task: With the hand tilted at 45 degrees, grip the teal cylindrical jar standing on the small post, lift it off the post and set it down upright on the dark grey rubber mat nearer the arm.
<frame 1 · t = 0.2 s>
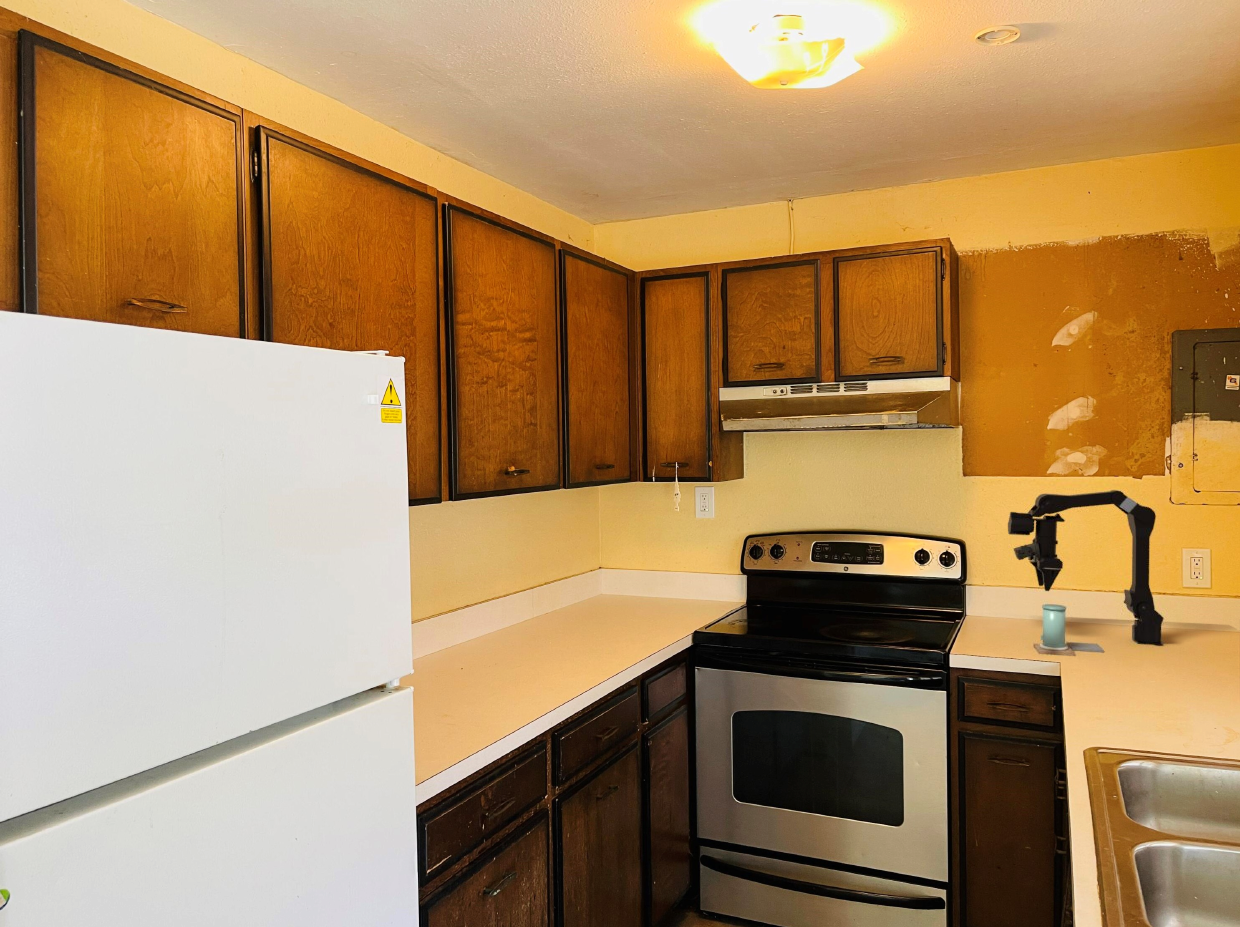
hand: (1043, 588, 266), 15 cm above the counter, tool pointing down, fingers open, 9 cm apart
teal cylindrical jar: (1053, 645, 248), point 1 cm above the counter, touching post
mat: (1084, 648, 252), on the counter
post: (1053, 650, 248), on the counter
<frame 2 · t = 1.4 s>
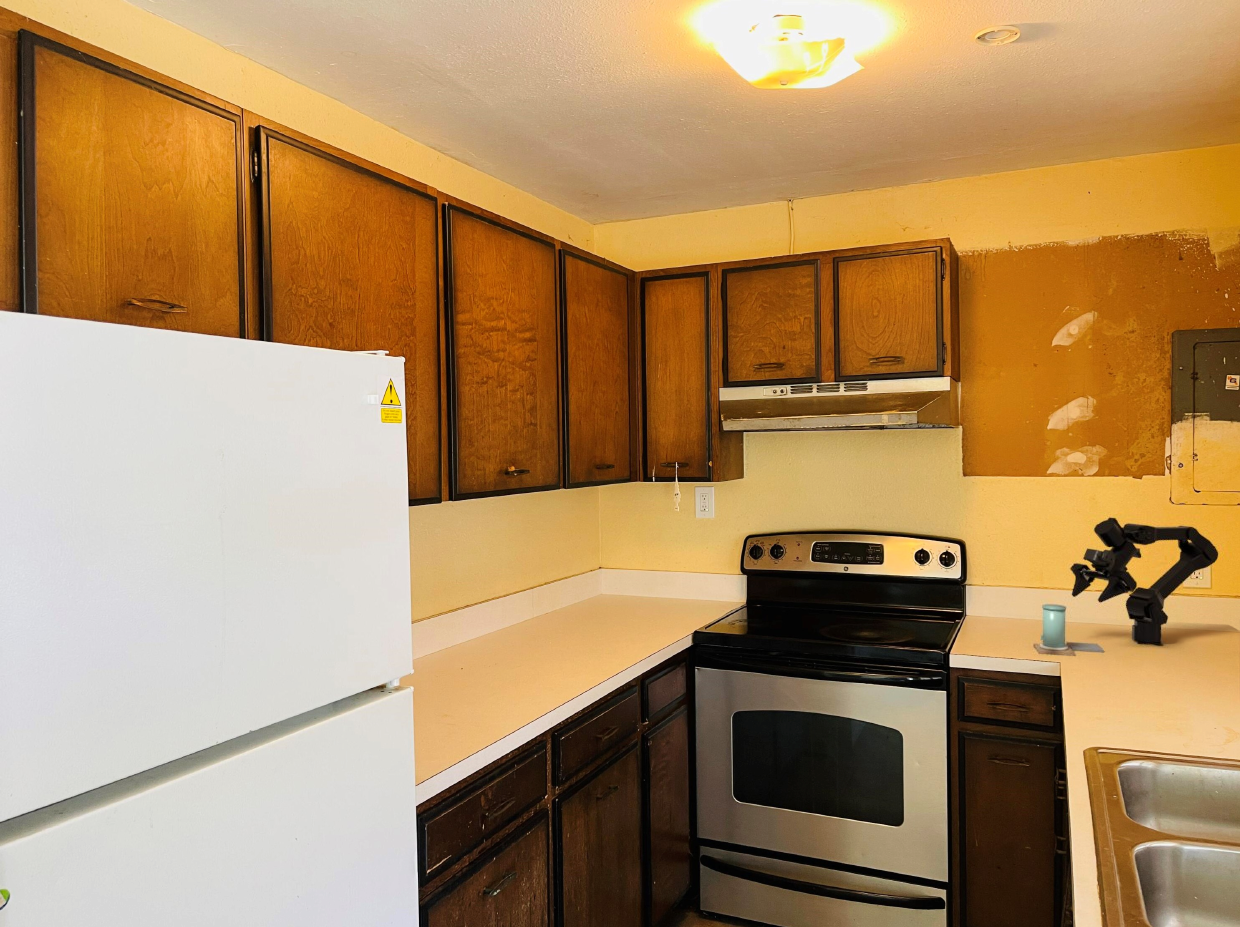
hand: (1085, 598, 252), 14 cm above the counter, tool tilted 45°, fingers open, 9 cm apart
nothing on the counter moved.
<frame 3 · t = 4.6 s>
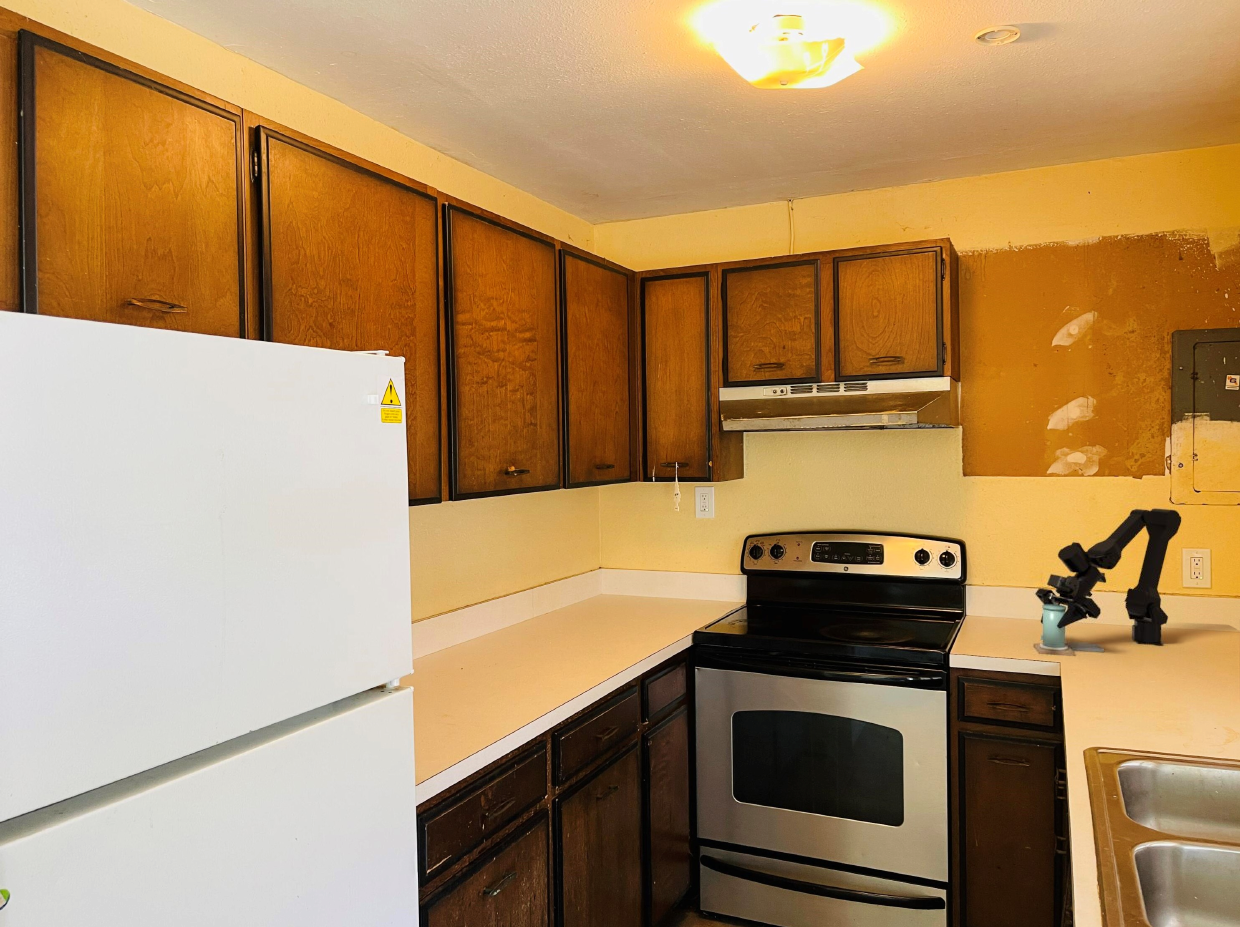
hand: (1049, 625, 248), 7 cm above the counter, tool tilted 45°, fingers closed on teal cylindrical jar, 6 cm apart
teal cylindrical jar: (1053, 645, 248), point 1 cm above the counter, touching gripper, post
when the fingers open (7 cm above the counter, at t = 7.8 s): teal cylindrical jar drops 1 cm, resting on mat.
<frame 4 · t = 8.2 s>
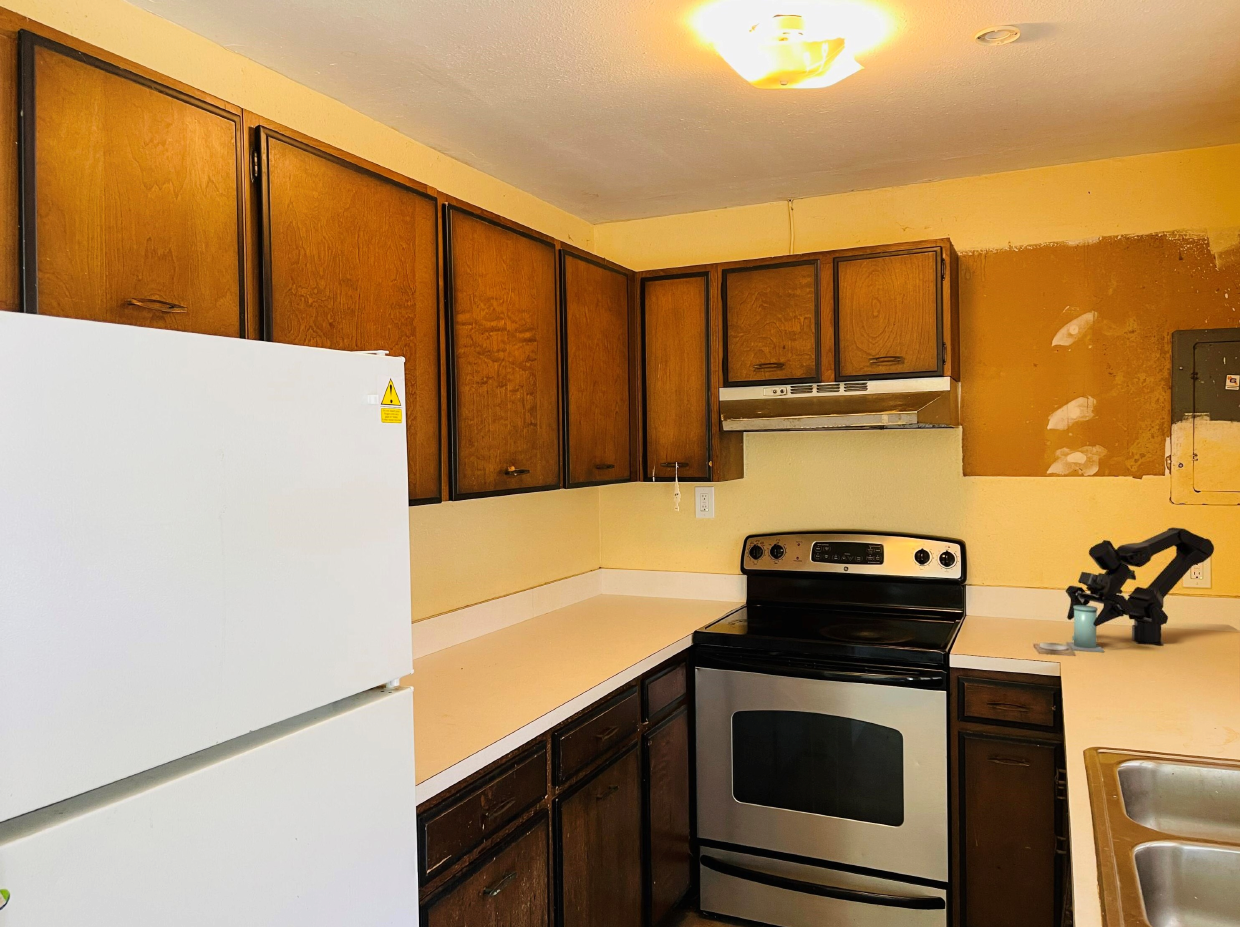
hand: (1081, 622, 251), 7 cm above the counter, tool tilted 45°, fingers open, 9 cm apart
teal cylindrical jar: (1085, 645, 252), point 1 cm above the counter, touching mat
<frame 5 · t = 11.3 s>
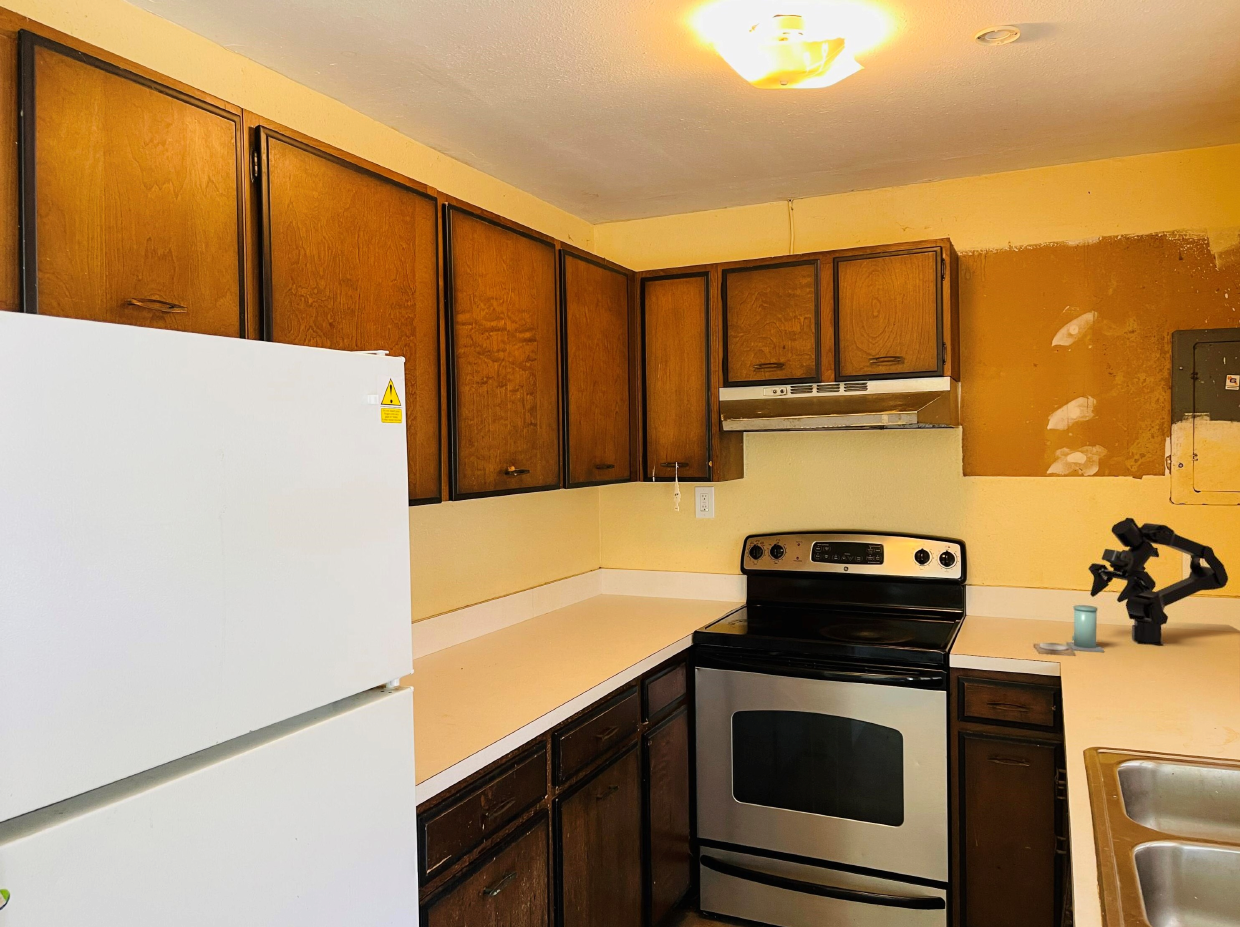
hand: (1104, 598, 254), 14 cm above the counter, tool tilted 45°, fingers open, 9 cm apart
nothing on the counter moved.
at the end: teal cylindrical jar inside the target area on the mat (0.1 cm from its centre), point 0.6 cm above the mat's base; teal cylindrical jar tilted 0°; the gripper is holding nothing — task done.
